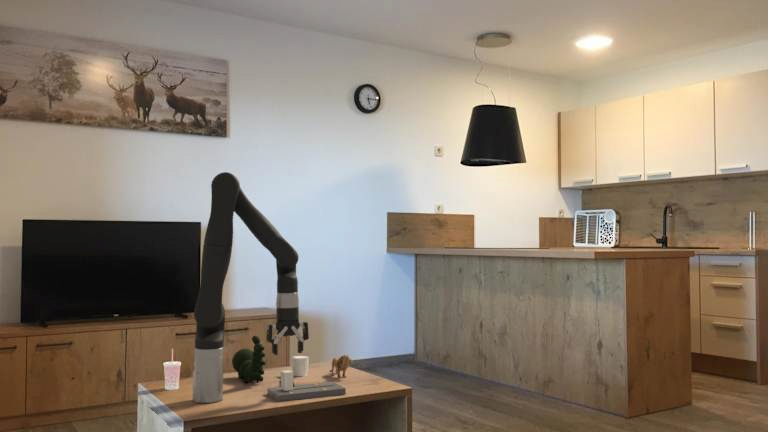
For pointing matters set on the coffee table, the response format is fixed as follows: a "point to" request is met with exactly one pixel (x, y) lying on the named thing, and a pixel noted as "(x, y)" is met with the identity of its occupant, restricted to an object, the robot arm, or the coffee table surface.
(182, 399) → the coffee table surface
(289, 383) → the cylinder
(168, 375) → the beverage cup
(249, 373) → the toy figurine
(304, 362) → the white cup
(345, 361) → the lion figurine
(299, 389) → the console
